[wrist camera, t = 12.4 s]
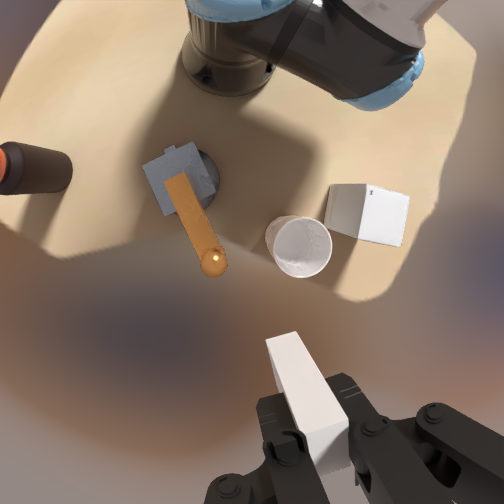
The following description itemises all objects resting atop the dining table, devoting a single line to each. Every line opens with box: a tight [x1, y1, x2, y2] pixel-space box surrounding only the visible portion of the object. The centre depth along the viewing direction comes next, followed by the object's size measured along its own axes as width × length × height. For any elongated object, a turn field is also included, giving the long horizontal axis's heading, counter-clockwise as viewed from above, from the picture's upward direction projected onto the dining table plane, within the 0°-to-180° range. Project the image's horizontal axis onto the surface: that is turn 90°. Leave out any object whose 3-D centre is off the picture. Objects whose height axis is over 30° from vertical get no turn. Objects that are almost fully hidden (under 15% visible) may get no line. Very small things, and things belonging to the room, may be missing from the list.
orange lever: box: [142, 141, 228, 277], centre depth 37 cm, size 7×17×13 cm, turn 24°
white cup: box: [265, 216, 332, 278], centre depth 44 cm, size 8×8×10 cm
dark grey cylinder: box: [173, 150, 219, 214], centre depth 41 cm, size 10×10×9 cm
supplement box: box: [323, 184, 410, 247], centre depth 43 cm, size 7×7×13 cm
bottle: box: [0, 142, 73, 195], centre depth 32 cm, size 7×7×20 cm
